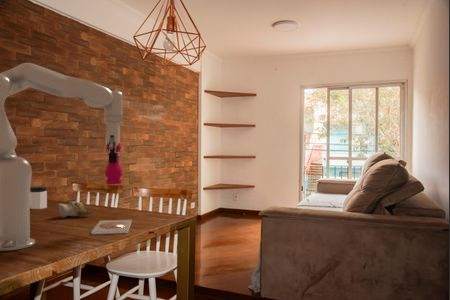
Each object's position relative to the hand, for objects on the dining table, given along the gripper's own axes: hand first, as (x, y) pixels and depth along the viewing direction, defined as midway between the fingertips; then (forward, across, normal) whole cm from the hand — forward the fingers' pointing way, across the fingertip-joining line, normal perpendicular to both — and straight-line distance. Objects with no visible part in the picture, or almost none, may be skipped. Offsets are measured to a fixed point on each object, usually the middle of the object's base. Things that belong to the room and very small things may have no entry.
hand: (113, 161), depth 149 cm
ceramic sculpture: (+29, -27, -22) cm, 46 cm away
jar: (+29, -54, -48) cm, 77 cm away
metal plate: (+29, 0, 0) cm, 29 cm away
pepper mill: (+10, 0, 0) cm, 10 cm away
